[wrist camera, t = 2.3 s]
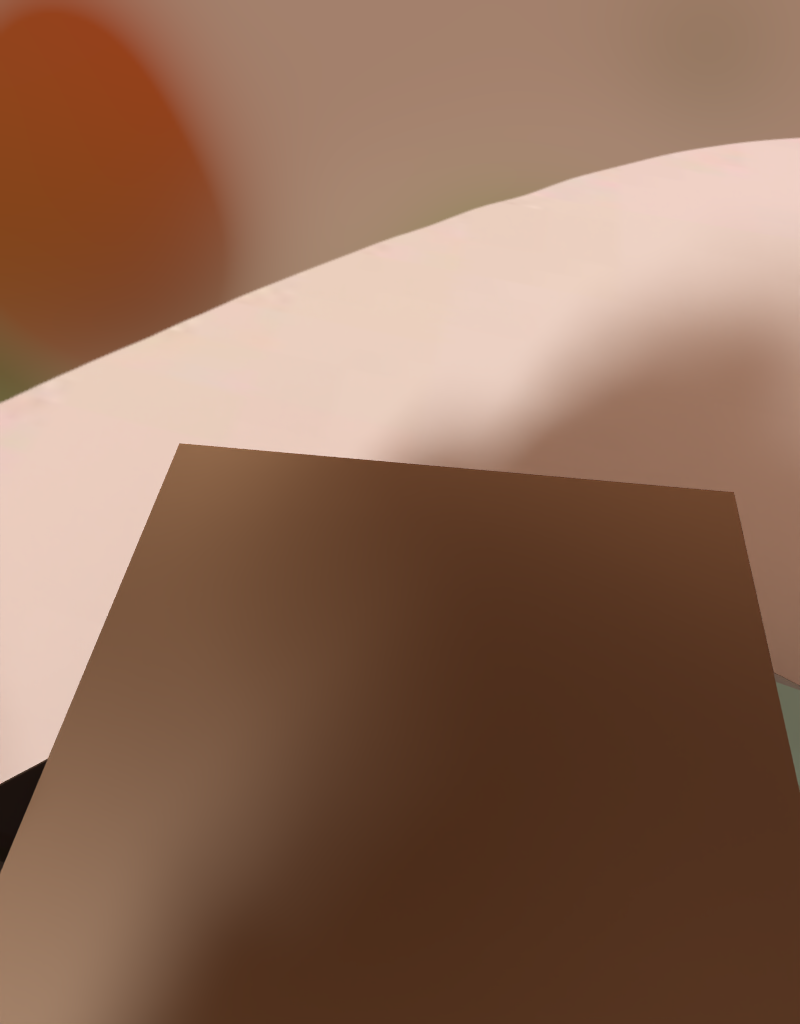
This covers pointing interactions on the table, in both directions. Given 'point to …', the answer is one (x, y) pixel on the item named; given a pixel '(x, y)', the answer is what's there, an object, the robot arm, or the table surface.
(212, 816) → the walnut pillar
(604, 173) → the table surface
